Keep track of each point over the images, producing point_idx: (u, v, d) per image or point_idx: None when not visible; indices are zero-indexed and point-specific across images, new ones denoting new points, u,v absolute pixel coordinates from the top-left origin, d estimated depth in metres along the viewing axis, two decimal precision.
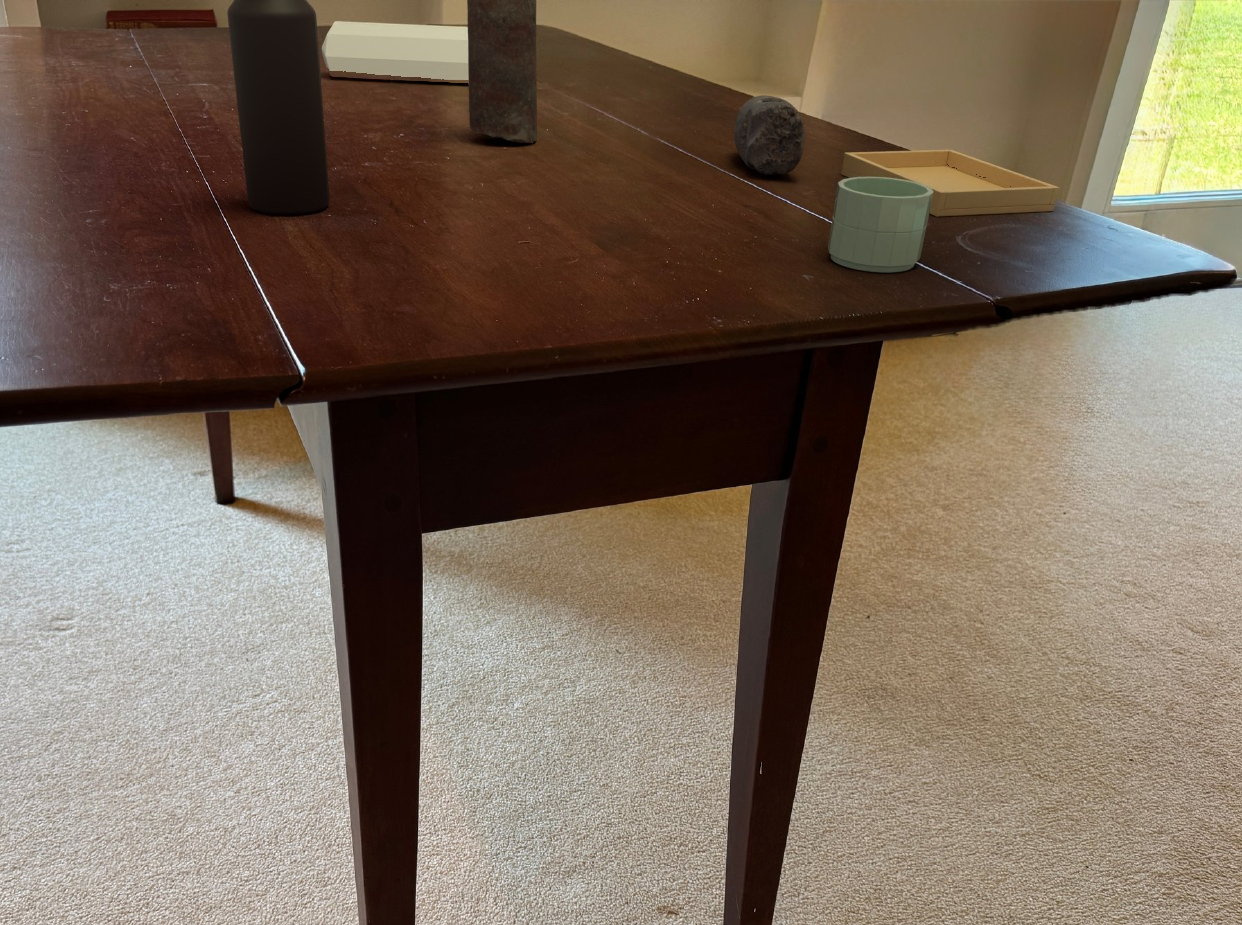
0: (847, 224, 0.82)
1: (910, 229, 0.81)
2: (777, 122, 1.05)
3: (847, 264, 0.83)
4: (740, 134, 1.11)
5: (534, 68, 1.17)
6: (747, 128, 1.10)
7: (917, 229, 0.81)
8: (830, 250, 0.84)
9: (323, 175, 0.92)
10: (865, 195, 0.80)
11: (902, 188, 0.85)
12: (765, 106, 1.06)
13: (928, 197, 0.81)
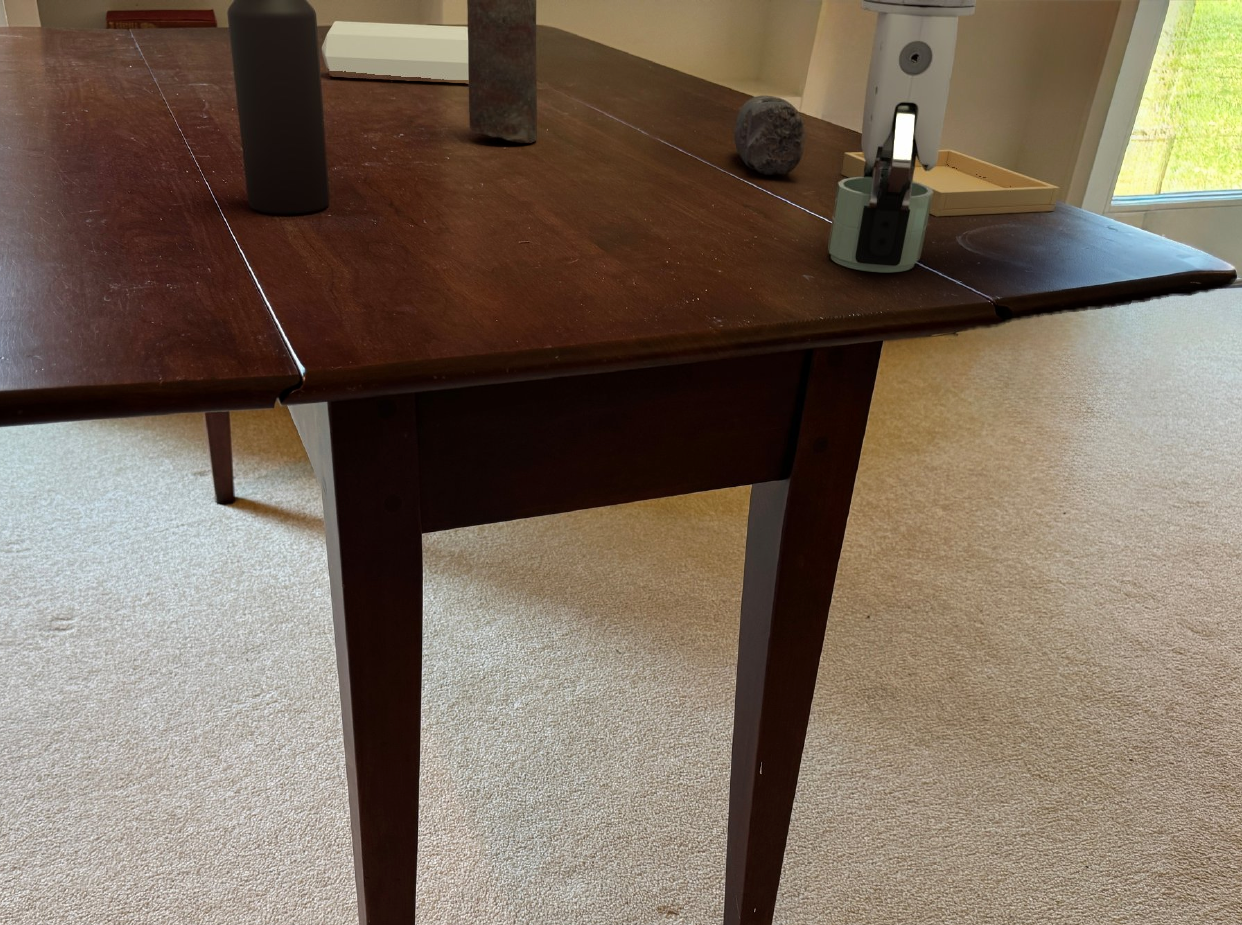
0: (847, 224, 0.82)
1: (910, 229, 0.81)
2: (777, 122, 1.05)
3: (847, 264, 0.83)
4: (740, 134, 1.11)
5: (534, 68, 1.17)
6: (747, 128, 1.10)
7: (917, 229, 0.81)
8: (830, 250, 0.84)
9: (323, 175, 0.92)
10: (865, 195, 0.80)
11: None
12: (765, 106, 1.06)
13: (928, 197, 0.81)
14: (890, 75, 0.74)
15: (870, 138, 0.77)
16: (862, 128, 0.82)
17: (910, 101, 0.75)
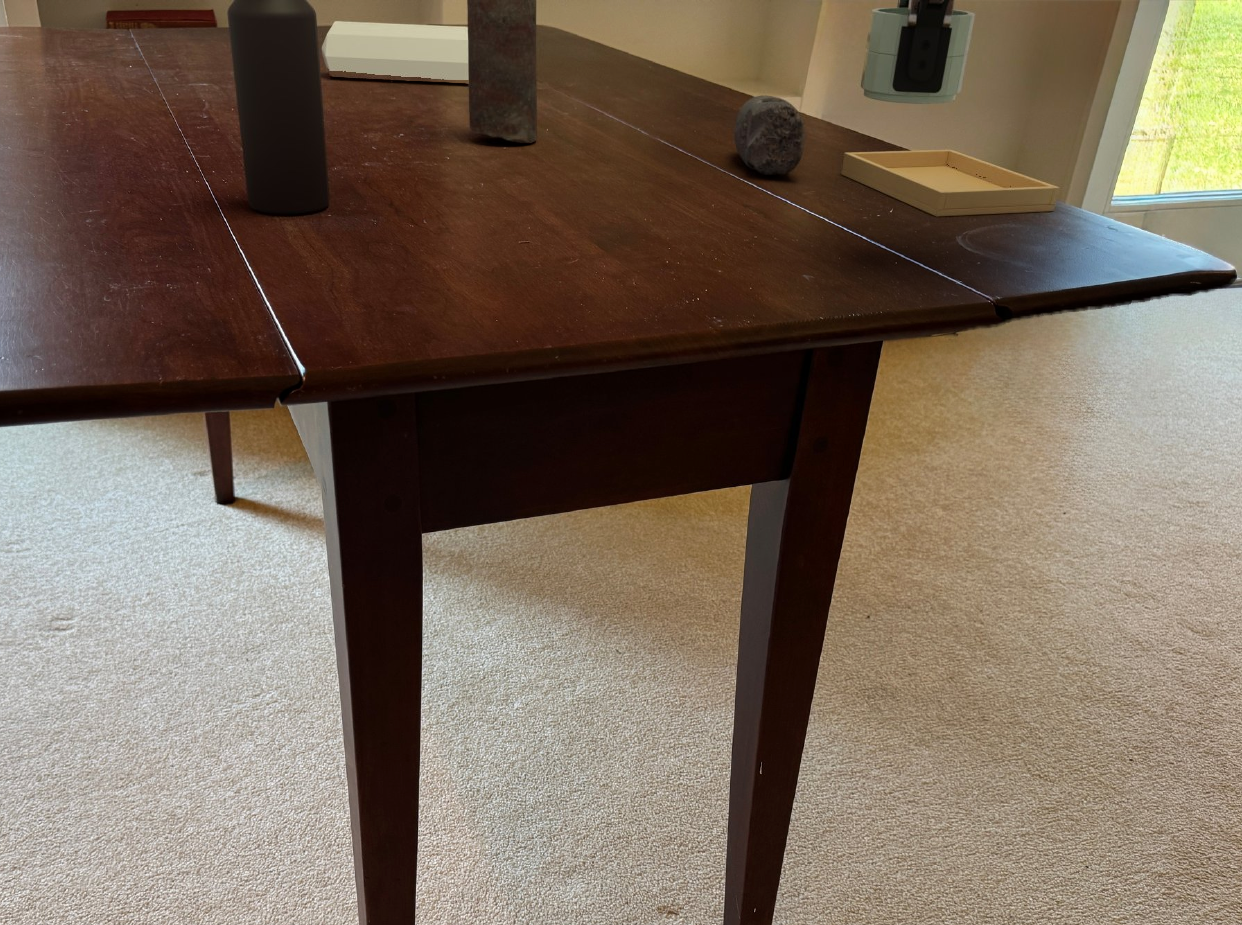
0: (883, 51, 0.76)
1: (951, 53, 0.75)
2: (777, 122, 1.05)
3: (883, 97, 0.78)
4: (740, 134, 1.11)
5: (534, 68, 1.17)
6: (747, 128, 1.10)
7: (958, 54, 0.76)
8: (864, 85, 0.79)
9: (323, 175, 0.92)
10: (902, 16, 0.74)
11: None
12: (765, 106, 1.06)
13: (970, 18, 0.75)
14: None
15: None
16: None
17: None
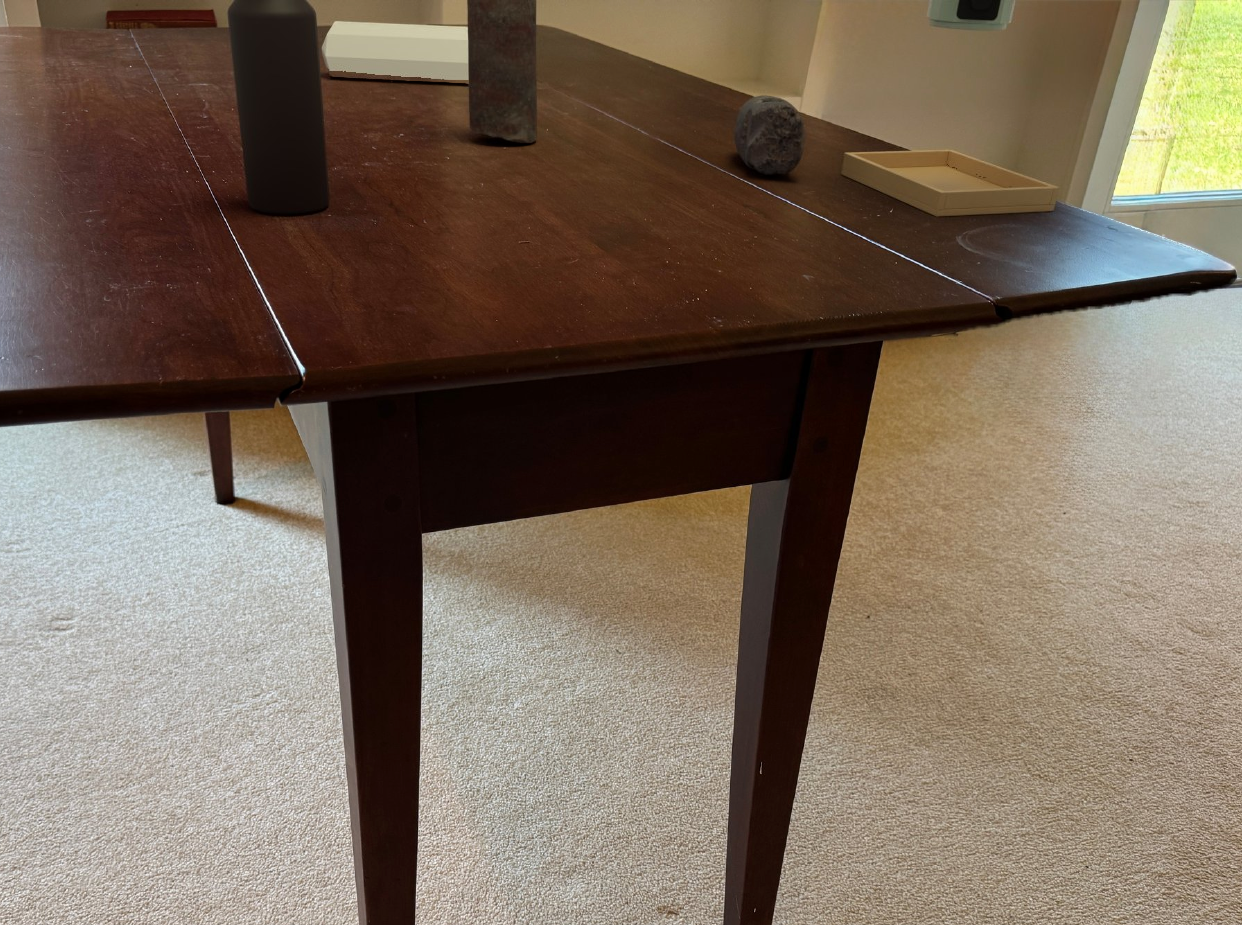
0: None
1: None
2: (777, 122, 1.05)
3: (947, 25, 0.93)
4: (740, 134, 1.11)
5: (534, 68, 1.17)
6: (747, 128, 1.10)
7: None
8: (930, 15, 0.94)
9: (323, 175, 0.92)
10: None
11: None
12: (765, 106, 1.06)
13: None
14: None
15: None
16: None
17: None
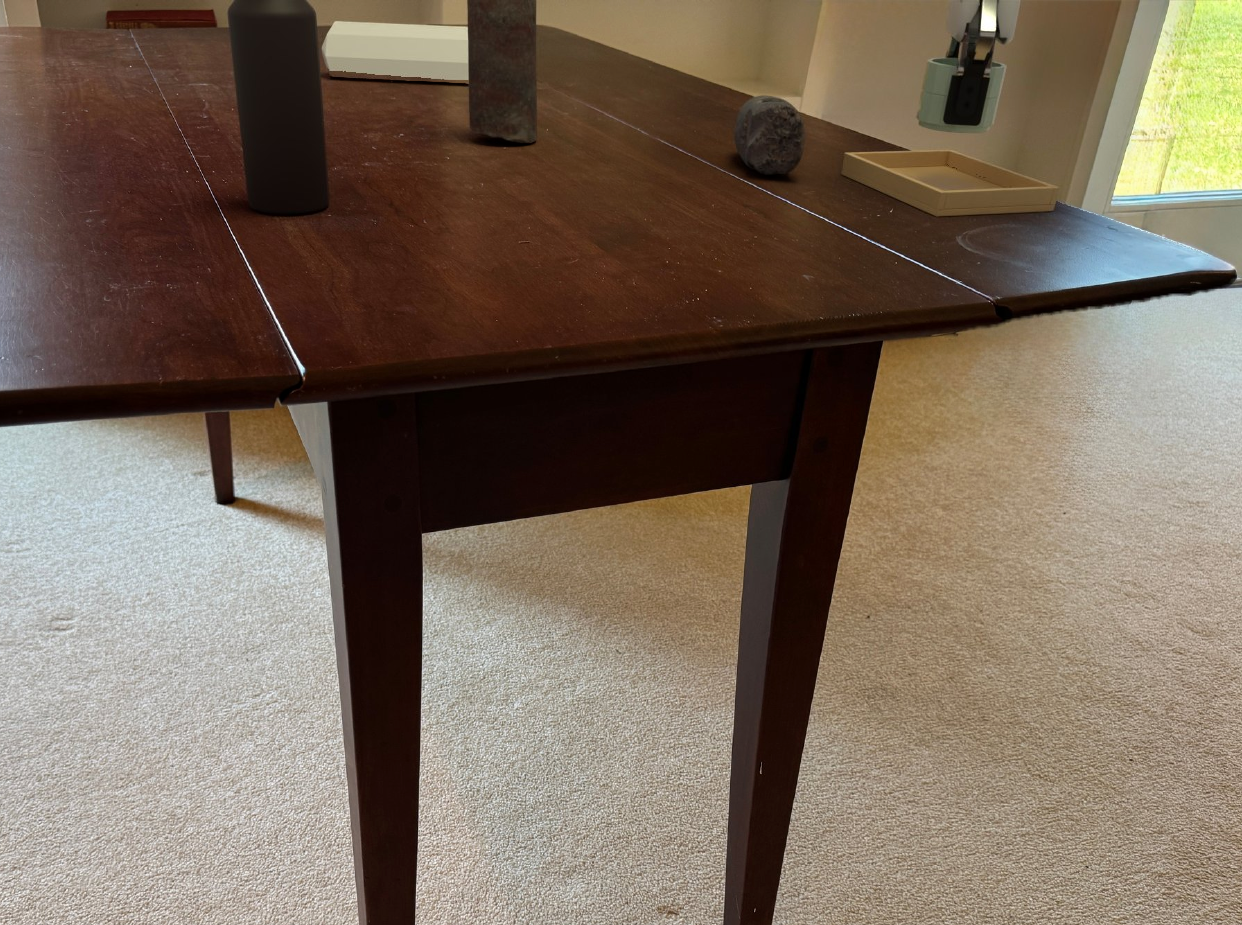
0: (935, 92, 1.00)
1: (988, 95, 0.99)
2: (777, 122, 1.05)
3: (934, 127, 1.01)
4: (740, 134, 1.11)
5: (534, 68, 1.17)
6: (747, 128, 1.10)
7: (993, 96, 0.99)
8: (919, 117, 1.03)
9: (323, 175, 0.92)
10: (952, 66, 0.98)
11: None
12: (765, 106, 1.06)
13: (1003, 69, 0.99)
14: None
15: (960, 16, 0.95)
16: (949, 14, 1.00)
17: None
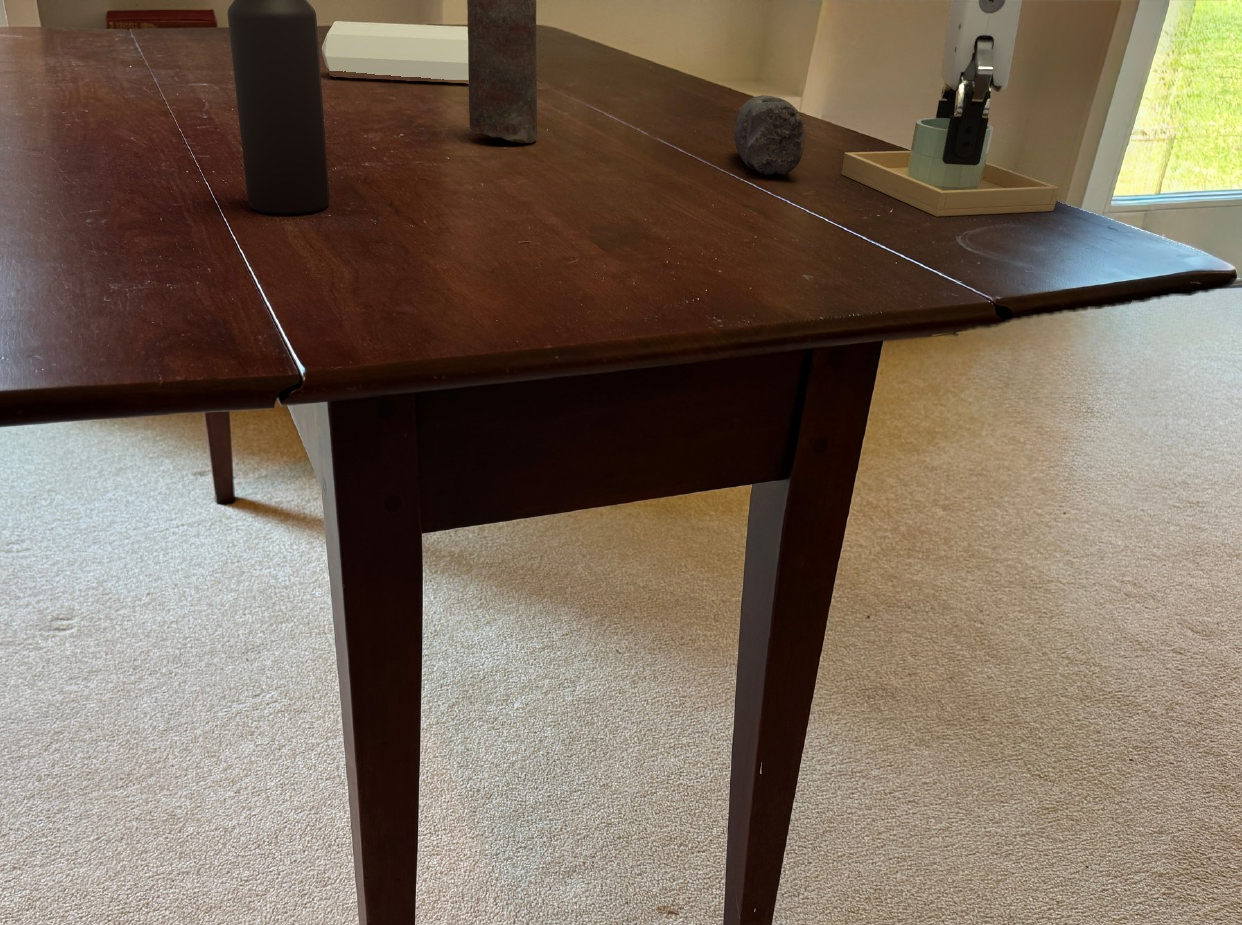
0: (924, 154, 1.03)
1: None
2: (777, 122, 1.05)
3: None
4: (740, 134, 1.11)
5: (534, 68, 1.17)
6: (747, 128, 1.10)
7: None
8: (909, 176, 1.05)
9: (323, 175, 0.92)
10: (940, 129, 1.01)
11: None
12: (765, 106, 1.06)
13: (990, 131, 1.01)
14: (971, 14, 0.94)
15: (954, 65, 0.97)
16: (943, 62, 1.02)
17: (988, 30, 0.94)
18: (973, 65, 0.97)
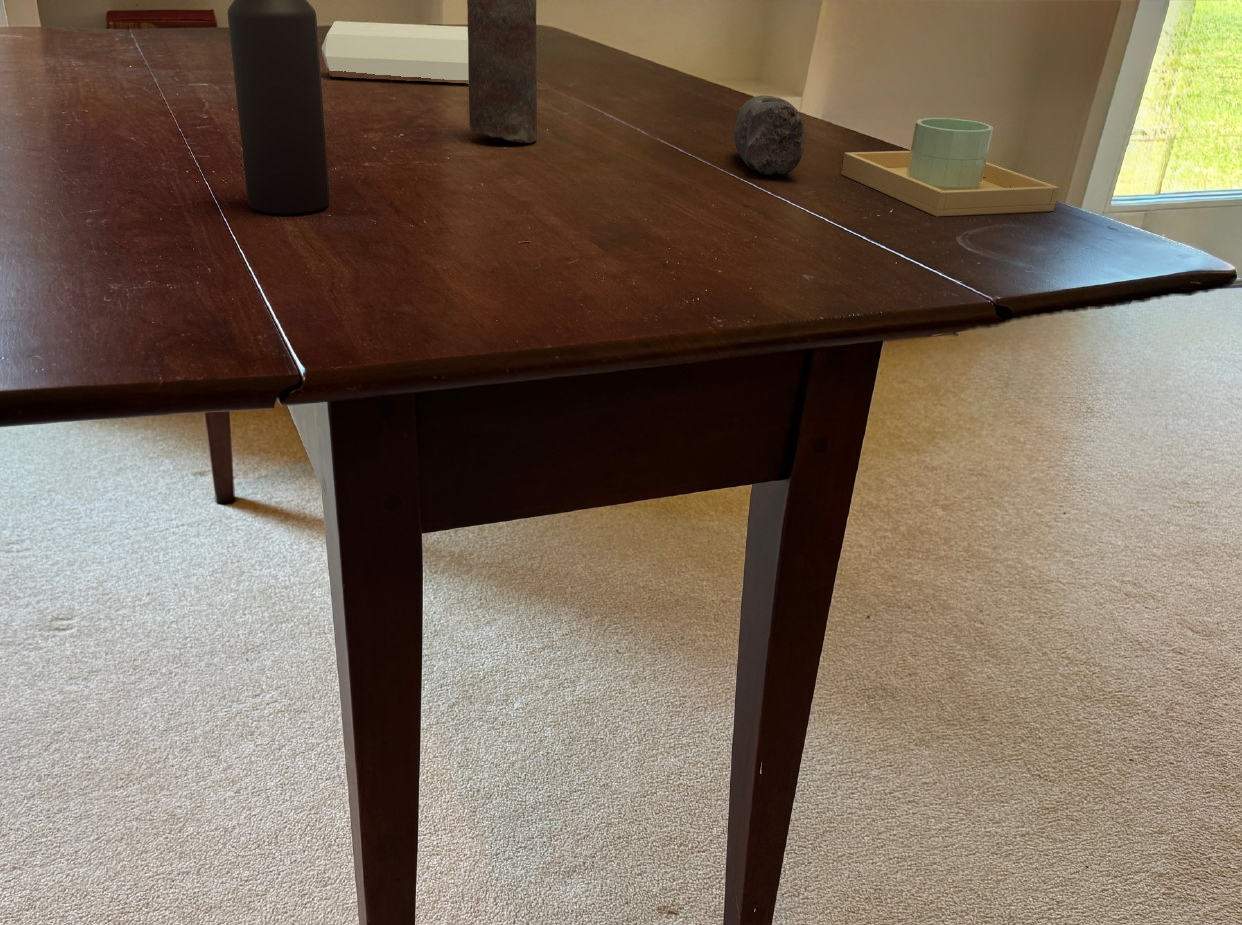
0: (924, 154, 1.03)
1: (975, 157, 1.02)
2: (777, 122, 1.05)
3: None
4: (740, 134, 1.11)
5: (534, 68, 1.17)
6: (747, 128, 1.10)
7: (980, 157, 1.02)
8: (909, 176, 1.05)
9: (323, 175, 0.92)
10: (940, 129, 1.01)
11: (966, 127, 1.05)
12: (765, 106, 1.06)
13: (990, 131, 1.01)
14: None
15: None
16: None
17: None
18: None
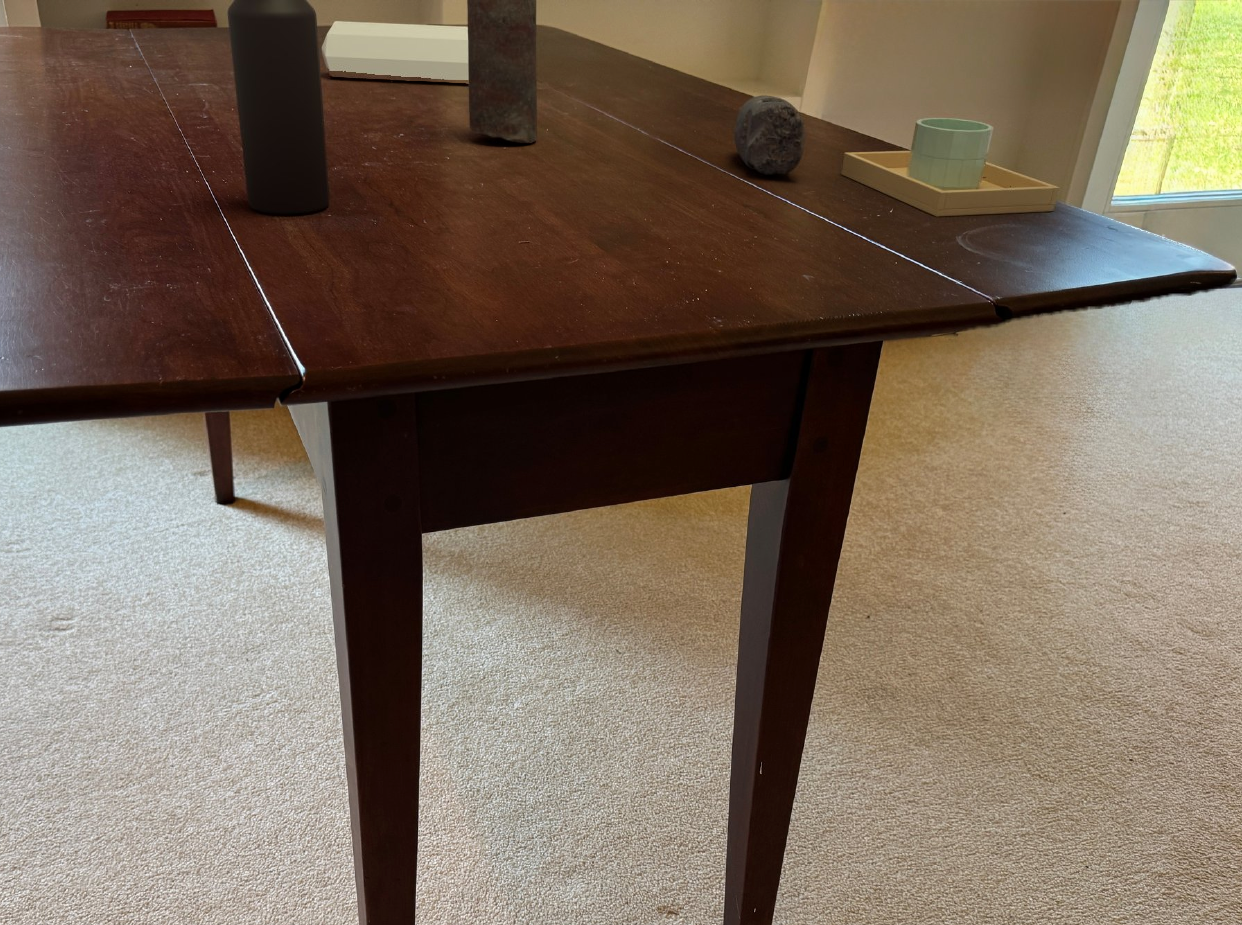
0: (924, 154, 1.03)
1: (975, 157, 1.02)
2: (777, 122, 1.05)
3: None
4: (740, 134, 1.11)
5: (534, 68, 1.17)
6: (747, 128, 1.10)
7: (980, 157, 1.02)
8: (909, 176, 1.05)
9: (323, 175, 0.92)
10: (940, 129, 1.01)
11: (966, 127, 1.05)
12: (765, 106, 1.06)
13: (990, 131, 1.01)
14: None
15: None
16: None
17: None
18: None
